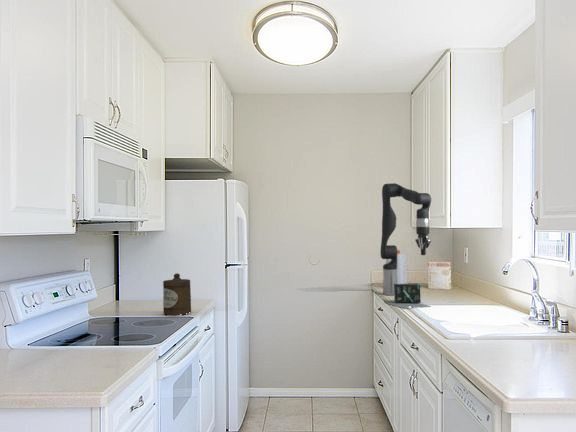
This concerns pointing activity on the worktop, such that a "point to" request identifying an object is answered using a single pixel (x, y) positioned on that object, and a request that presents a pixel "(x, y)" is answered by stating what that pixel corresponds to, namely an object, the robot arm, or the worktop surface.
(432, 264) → the coffeecake box
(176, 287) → the wooden container
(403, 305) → the display mat
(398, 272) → the plastic bottle
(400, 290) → the tampon box
